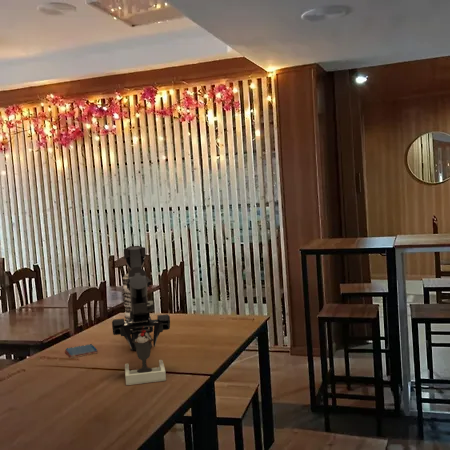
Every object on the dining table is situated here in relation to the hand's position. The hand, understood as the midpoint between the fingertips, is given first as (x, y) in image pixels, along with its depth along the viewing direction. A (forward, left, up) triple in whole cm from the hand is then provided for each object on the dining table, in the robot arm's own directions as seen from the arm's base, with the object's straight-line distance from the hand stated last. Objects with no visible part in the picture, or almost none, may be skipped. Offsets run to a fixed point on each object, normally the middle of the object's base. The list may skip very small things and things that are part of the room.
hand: (143, 347), depth 182 cm
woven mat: (-35, +26, -11) cm, 45 cm away
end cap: (0, +1, -10) cm, 10 cm away
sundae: (-1, +1, -8) cm, 8 cm away
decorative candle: (-25, +57, -10) cm, 63 cm away
